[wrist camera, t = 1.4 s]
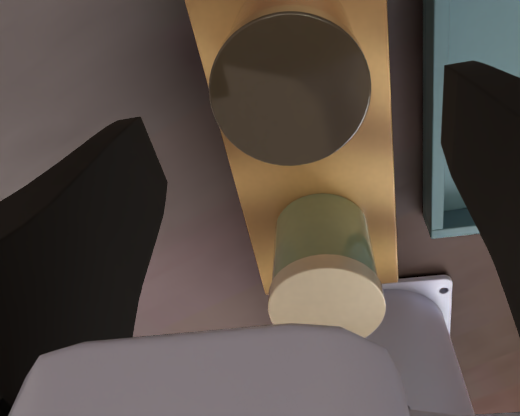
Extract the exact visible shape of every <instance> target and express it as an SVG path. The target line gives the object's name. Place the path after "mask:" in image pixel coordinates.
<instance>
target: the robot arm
mask: <svg viewBox="0 0 520 416" xmlns="http://www.w3.org/2000/svg"><path fill="white" fill-rule="evenodd" d="M441 146H442V149H443V153H444V156H445V159H446V162H447V165H448V168H449V171H450V174H451V177H452V179H453V181H454V183H455V185H456V187H457V189H458V191H459V193H460V195H461V197H462V199H463V201H464V203H465V205H466V207H467V209H468V211H469V213H470V215H471V217H472V219H473V221H474V223H475V225H476V227H477V229H478V231H479V233H480V235H481V237H482V239H483V241H484V243H485V245H486V246H487V249H488V251H489V253H490V255H491V258H492V260H493V262H494V264H495V267H496V270H497V273H498V276H499V278H500V281H501V284H502V287H503V289H504V292H505V295H506V298H507V301H508V304H509V307H510V310H511V313H512V316H513V319H514V321H515V324H516V327H517V330H518V333H519V336H520V78H519V77H517V76H514V75H512V74H509V73H507V72H505V71H502V70H500V69H497V68H495V67H492V66H490V65H487V64H484V63H481V62H478V61H474V60H472V61H466V62H460V63H454V64H448V65H444V82H443V103H442V124H441ZM167 183H168V182H167V180H166V177H165V175H164V172H163V170H162V167H161V165H160V163H159V160H158V158H157V155H156V153H155V150H154V148H153V146H152V143H151V141H150V138H149V136H148V133H147V131H146V128H145V126H144V124H143V121H142V119H141V117H135V118H129V119H123V120H118V121H116V122H114V123H112V124H110V125H109V126H107V127H105V128H104V129H103V130H101V131H100V132H98V133H97V134H96V135H94V136H93V137H91V138H90V139H89V140H87V141H86V142H85V143H84V144H82V145H81V146H80V147H78V148H77V149H76V150H74V151H73V152H72V153H70V154H69V155H68V156H66V157H65V158H64V159H63V160H61V161H60V162H59V163H57V164H56V165H54V166H53V167H51V168H50V169H49V170H47V171H46V172H44V173H43V174H42V175H40V176H39V177H37V178H36V179H35V180H33V181H32V182H30V183H29V184H28V185H26V186H24V187H23V188H21V189H20V190H18V191H17V192H15V193H14V194H12V195H10V196H9V197H7V198H5V199H4V200H2V201H0V416H520V412H513V413H495V414H477V415H475V413H474V410H473V407H472V403H471V400H470V397H469V394H468V391H467V388H466V385H465V382H464V379H463V375H462V372H461V369H460V366H459V363H458V360H457V357H456V354H455V351H454V347H453V344H452V341H451V338H450V325H451V306H452V286H453V283H452V280H451V277H450V276H448V275H434V276H423V277H412V278H402V279H399V281H398V282H397V283H386V284H382V286H383V291H384V296H385V302H386V311H385V316H384V318H383V320H382V322H381V324H380V325H379V326H378V328H377V329H376V330H375V331H374V332H372V333H371V334H370V335H369V336H367V337H366V338H364V337H362V336H360V335H357V334H355V333H353V332H351V331H349V330H347V329H344V328H342V327H340V326H327V325H313V324H299V323H287V324H276V325H265V326H253V327H242V328H231V329H220V330H209V331H198V332H186V333H175V334H164V335H153V336H142V337H133V330H134V325H135V319H136V313H137V307H138V302H139V297H140V293H141V289H142V285H143V282H144V279H145V275H146V272H147V269H148V265H149V262H150V259H151V255H152V252H153V249H154V246H155V242H156V239H157V236H158V232H159V229H160V225H161V222H162V218H163V214H164V208H165V201H166V192H167ZM441 288H444V289H441Z"/></svg>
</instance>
